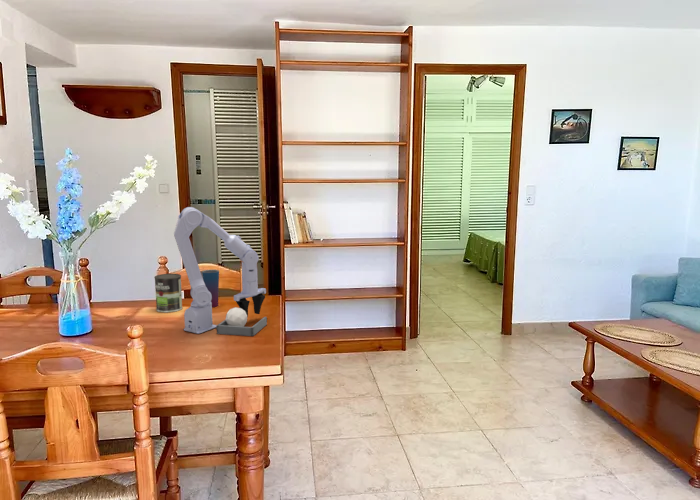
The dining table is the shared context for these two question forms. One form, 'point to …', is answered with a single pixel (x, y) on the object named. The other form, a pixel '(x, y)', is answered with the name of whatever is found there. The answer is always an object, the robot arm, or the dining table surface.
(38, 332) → the dining table surface
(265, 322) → the tray
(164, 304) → the coffee can
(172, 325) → the dining table surface
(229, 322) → the geometric ball
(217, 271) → the cup
